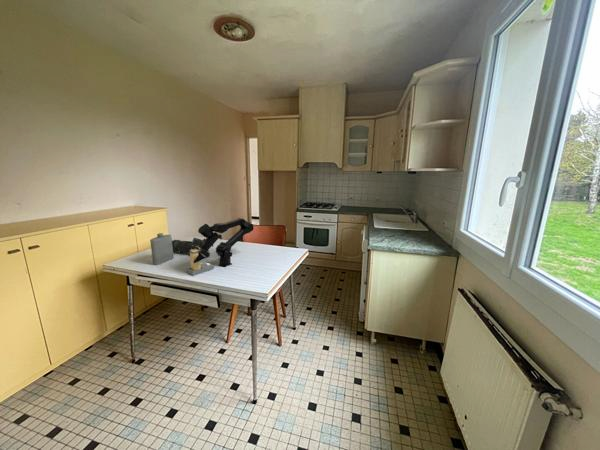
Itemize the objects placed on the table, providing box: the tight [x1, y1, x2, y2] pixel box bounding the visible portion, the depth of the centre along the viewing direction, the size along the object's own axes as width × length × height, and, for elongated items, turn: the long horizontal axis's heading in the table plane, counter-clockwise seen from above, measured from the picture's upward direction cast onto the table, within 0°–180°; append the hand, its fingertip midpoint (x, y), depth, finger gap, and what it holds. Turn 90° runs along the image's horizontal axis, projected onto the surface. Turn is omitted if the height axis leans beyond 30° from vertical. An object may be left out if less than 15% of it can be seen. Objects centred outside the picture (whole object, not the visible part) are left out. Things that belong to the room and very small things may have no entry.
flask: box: [150, 232, 174, 266], centre depth 158 cm, size 15×6×20 cm, turn 163°
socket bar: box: [186, 262, 215, 277], centre depth 146 cm, size 14×8×3 cm, turn 143°
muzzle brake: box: [172, 239, 195, 254], centre depth 175 cm, size 10×28×10 cm, turn 78°
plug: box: [189, 249, 201, 271], centre depth 143 cm, size 4×4×14 cm
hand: (192, 260), depth 142 cm, fingers open, 9 cm apart
